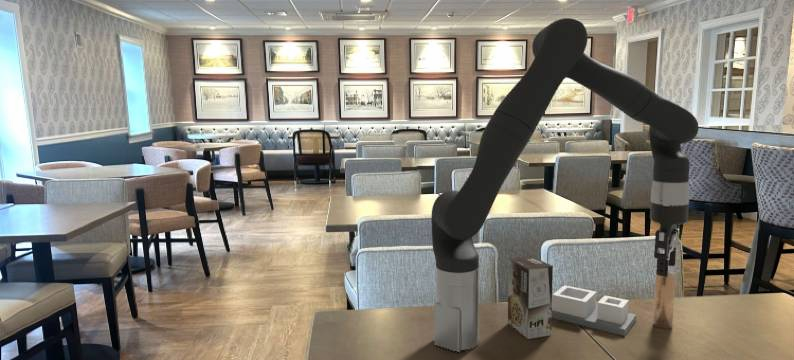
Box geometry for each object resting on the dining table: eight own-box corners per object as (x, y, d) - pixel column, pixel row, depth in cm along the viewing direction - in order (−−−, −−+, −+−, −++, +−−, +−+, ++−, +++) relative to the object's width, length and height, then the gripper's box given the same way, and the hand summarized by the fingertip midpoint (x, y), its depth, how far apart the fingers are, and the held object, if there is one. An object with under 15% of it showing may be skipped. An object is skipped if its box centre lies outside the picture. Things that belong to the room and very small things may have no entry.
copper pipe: (670, 330, 114) (673, 279, 112) (651, 325, 116) (654, 276, 115) (674, 324, 117) (677, 274, 115) (655, 320, 120) (657, 271, 118)
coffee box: (552, 335, 113) (554, 266, 110) (527, 340, 111) (528, 269, 109) (530, 319, 121) (531, 254, 119) (506, 323, 119) (507, 257, 117)
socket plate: (624, 336, 112) (625, 312, 111) (550, 317, 122) (550, 295, 121) (636, 320, 119) (637, 298, 119) (565, 304, 130) (565, 284, 129)
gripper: (657, 194, 120) (654, 259, 123) (643, 204, 109) (640, 276, 112) (693, 197, 116) (690, 265, 118) (682, 208, 105) (678, 282, 107)
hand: (666, 270), depth 115 cm, fingers open, 8 cm apart
